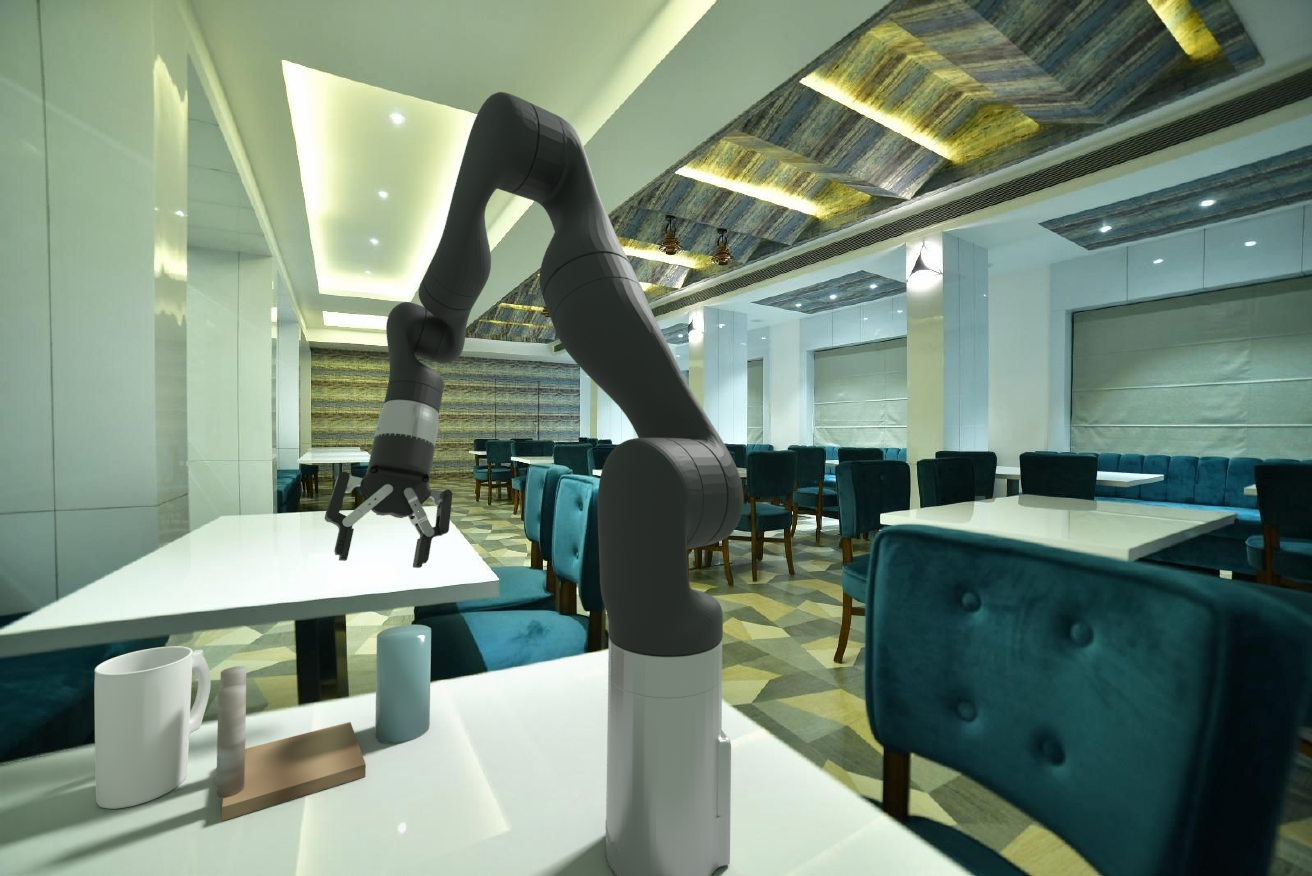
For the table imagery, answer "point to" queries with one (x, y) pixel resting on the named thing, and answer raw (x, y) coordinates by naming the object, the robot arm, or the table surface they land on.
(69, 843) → the table surface
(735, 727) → the table surface
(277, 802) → the board
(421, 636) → the pale blue cylinder
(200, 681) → the mug
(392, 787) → the table surface
